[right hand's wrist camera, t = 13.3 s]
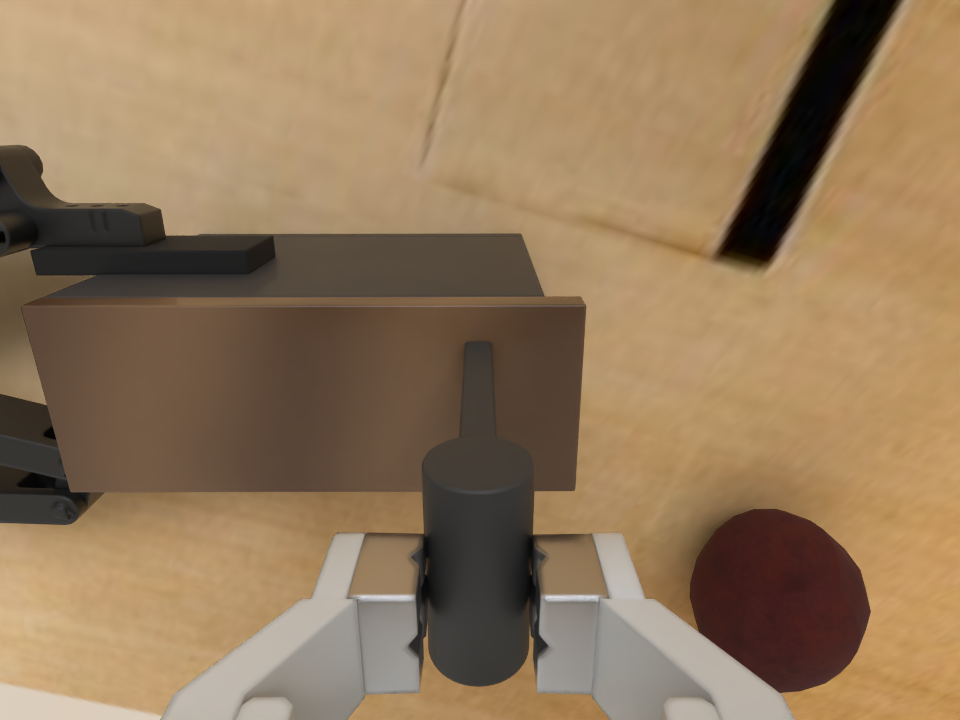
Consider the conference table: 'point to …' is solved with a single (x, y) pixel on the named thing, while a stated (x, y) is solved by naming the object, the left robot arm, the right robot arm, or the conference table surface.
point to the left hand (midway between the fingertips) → (271, 344)
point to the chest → (350, 270)
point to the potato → (780, 598)
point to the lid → (338, 422)
